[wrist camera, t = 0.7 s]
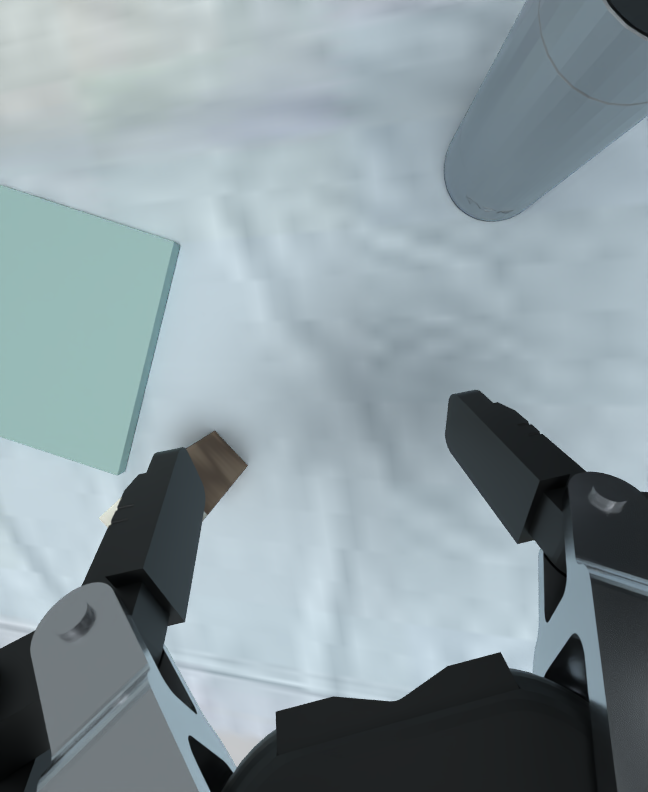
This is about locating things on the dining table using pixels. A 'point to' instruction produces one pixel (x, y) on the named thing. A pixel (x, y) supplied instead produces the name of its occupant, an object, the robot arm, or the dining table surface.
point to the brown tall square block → (207, 471)
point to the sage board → (76, 328)
